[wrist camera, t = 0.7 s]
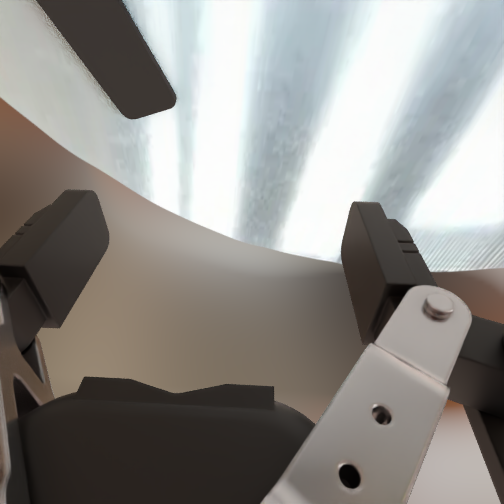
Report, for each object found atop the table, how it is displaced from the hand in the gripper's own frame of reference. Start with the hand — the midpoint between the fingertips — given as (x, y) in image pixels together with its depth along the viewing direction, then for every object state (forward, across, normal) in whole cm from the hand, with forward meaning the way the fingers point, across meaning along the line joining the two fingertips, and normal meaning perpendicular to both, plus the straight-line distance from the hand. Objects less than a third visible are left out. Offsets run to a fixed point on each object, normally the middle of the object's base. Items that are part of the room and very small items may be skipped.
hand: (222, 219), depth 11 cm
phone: (+30, +15, 0) cm, 34 cm away
